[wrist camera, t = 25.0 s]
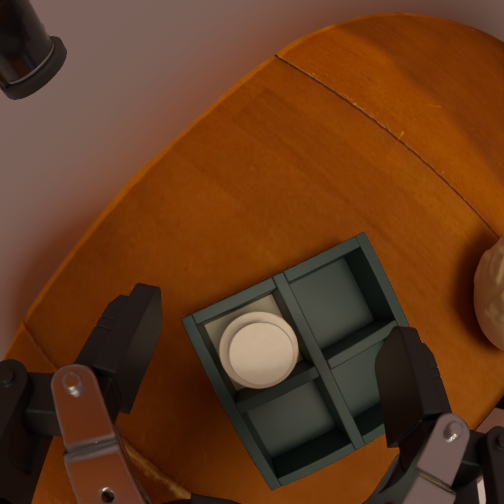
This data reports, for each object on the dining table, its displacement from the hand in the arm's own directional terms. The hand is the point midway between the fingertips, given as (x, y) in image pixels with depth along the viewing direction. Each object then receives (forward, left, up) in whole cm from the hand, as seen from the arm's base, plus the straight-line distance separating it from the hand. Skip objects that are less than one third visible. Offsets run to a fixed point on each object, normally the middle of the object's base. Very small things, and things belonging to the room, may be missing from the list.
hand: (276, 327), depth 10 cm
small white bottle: (-1, -1, -13) cm, 13 cm away
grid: (+2, -4, -14) cm, 15 cm away
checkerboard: (+20, -42, -14) cm, 49 cm away
